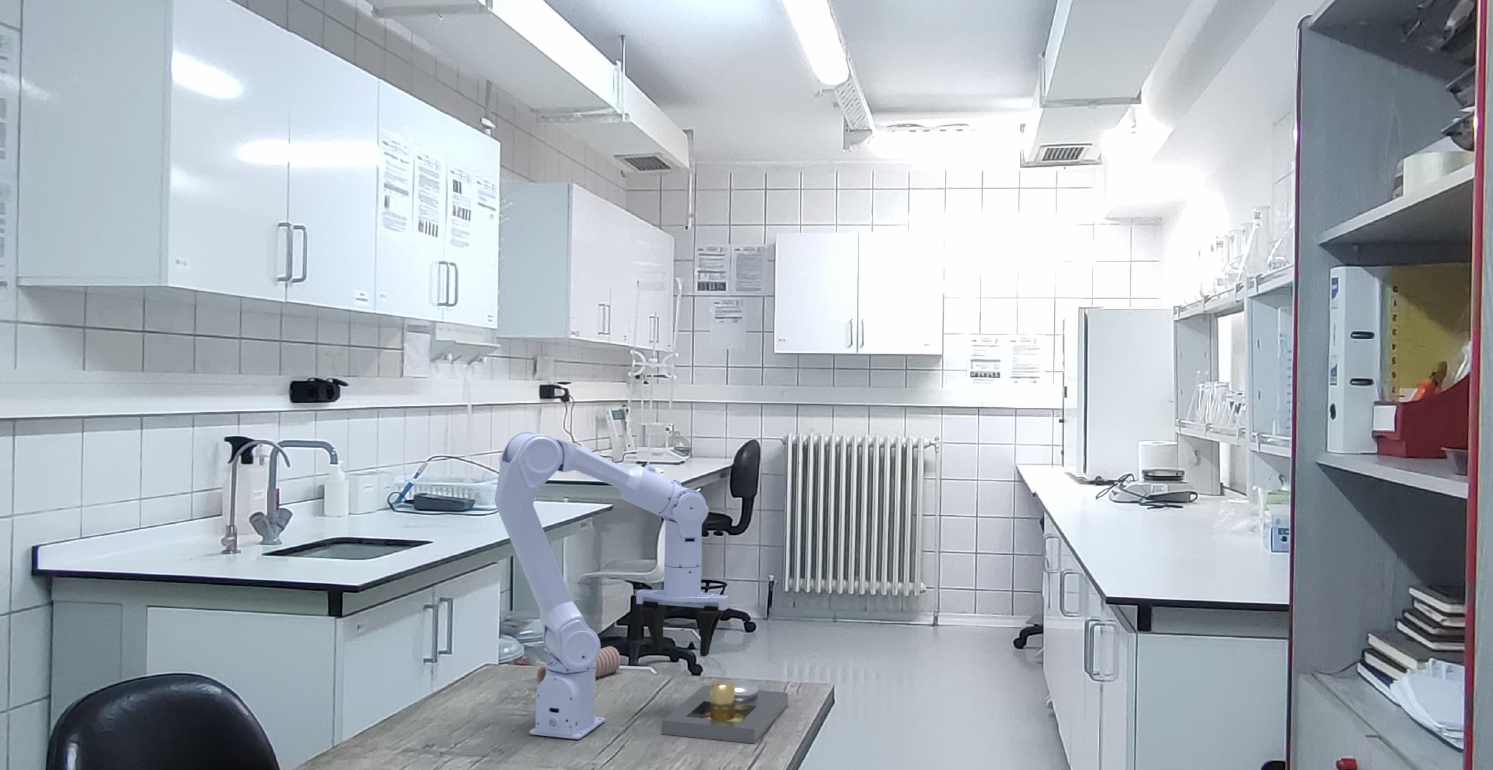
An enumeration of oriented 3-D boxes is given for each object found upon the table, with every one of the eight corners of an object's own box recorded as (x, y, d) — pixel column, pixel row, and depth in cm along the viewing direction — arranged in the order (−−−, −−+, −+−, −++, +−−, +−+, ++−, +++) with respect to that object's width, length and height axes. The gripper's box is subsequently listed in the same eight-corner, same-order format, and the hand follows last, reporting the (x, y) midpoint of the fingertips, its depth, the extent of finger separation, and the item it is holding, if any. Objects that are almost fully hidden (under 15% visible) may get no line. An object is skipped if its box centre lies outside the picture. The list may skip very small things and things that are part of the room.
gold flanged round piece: (737, 733, 161) (737, 691, 161) (694, 729, 162) (695, 687, 162) (748, 720, 167) (749, 680, 167) (707, 717, 169) (708, 676, 169)
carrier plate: (754, 743, 156) (754, 718, 156) (661, 734, 160) (661, 710, 160) (787, 705, 175) (788, 683, 175) (704, 697, 179) (704, 676, 179)
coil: (554, 669, 180) (625, 649, 194) (533, 662, 182) (605, 642, 197) (551, 697, 180) (623, 674, 195) (531, 690, 182) (603, 668, 197)
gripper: (735, 564, 172) (733, 651, 172) (648, 558, 176) (647, 643, 176) (721, 571, 165) (719, 661, 165) (631, 565, 169) (630, 653, 169)
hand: (681, 653), depth 170 cm, fingers open, 7 cm apart
